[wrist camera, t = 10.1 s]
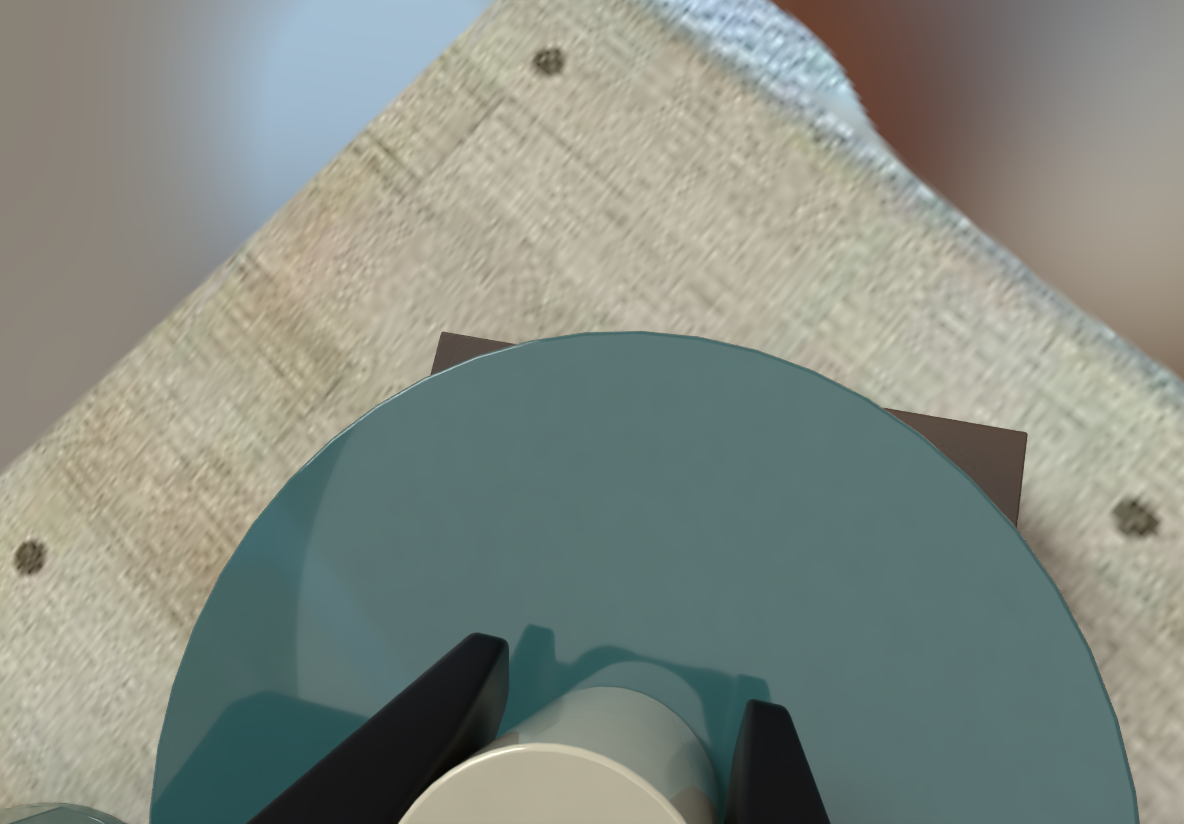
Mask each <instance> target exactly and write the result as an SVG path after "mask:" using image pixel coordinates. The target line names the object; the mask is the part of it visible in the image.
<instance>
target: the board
mask: <svg viewBox="0 0 1184 824" xmlns="http://www.w3.org/2000/svg"><path fill="white" fill-rule="evenodd" d="M513 345H517V344H511V343H505V342H500V341H494V340H488V339H482V338H476V337H471V336H465V335H459V334H453V333H448V332H442V333H441V336H440V340H439V344H438V348H437V352H436V355H435V359H434V363H433V367H432V371H431V375H432V374H435V373H437V372H439V371H442V370H444V369H447V368H449V367H451V366H454V365H456V364H458V363H461V362H463V361H466V360H468V359H470V358H473V357H475V356H478V355H481V354H485V353H489V352H492V351H496V350H499V349H503V348H506V347H510V346H513ZM883 409H884V410H886V411H887V412H889V413H890V414H892V415H893V416H895V417H896V418H898V419H899V420H901V421H902V422H904V423H905V424H907V425H908V426H910V427H911V428H913V429H914V430H916V431H917V432H918V433H920V434H921V435H923V436H924V437H925V438H926V439H927V440H928V441H929V442H931V443H932V444H933V445H934V446H935V447H936V448H937V449H939V450H940V451H941V452H942V453H943V454H944V455H945V456H947V457H948V458H949V459H950V460H951V461H952V462H954V463H955V464H956V465H957V466H958V467H959V468H960V469H962V470H963V471H964V472H965V473H966V474H967V475H968V476H970V477H971V478H972V479H973V481H974V482H975V483H976V484H977V485H978V486H979V487H980V488H981V489H982V491H983V492H984V493H985V494H986V495H987V496H988V497H989V498H990V499H991V501H992V502H993V503H994V504H995V505H996V506H997V507H998V508H999V509H1000V511H1001V512H1002V513H1003V514H1004V515H1005V516H1006V517H1007V518H1008V519H1009V521H1010V522H1011V523H1012V524H1013V525H1014V526H1015V527H1016V528H1017V522H1018V513H1019V505H1020V496H1021V487H1022V479H1023V470H1024V461H1025V453H1026V444H1027V433H1026V432H1021V431H1015V430H1010V429H1004V428H998V427H992V426H986V425H981V424H975V423H969V422H963V421H957V420H952V419H946V418H940V417H934V416H929V415H923V414H917V413H911V412H905V411H900V410H894V409H888V408H883Z"/></svg>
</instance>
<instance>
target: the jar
mask: <svg viewBox="0 0 1184 824" xmlns="http://www.w3.org/2000/svg"><path fill="white" fill-rule="evenodd" d="M0 824H125V823H124V822H122V821H120V820H118V819H116V818H115V817H113V816H111V815H108V814H105V813H103V812H100V811H97V810H94V809H91V808H88V807H83V806H78V805H73V804H67V803H36V804H28V805H20V806H17V807H13V808H5V809H0Z"/></svg>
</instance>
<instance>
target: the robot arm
mask: <svg viewBox="0 0 1184 824" xmlns="http://www.w3.org/2000/svg"><path fill="white" fill-rule="evenodd" d="M508 693H509V645H508V642H507V641H506V640H505V639H503V638H500V637H496V636H492V635H487V634H483V633H478V632H475V633H472V634H470V635H468V636H467V637H465V638H464V639H463V640H462V641H461V642H460V643H458V644H457V645H456V646H455V647H454V648H452V649H451V650H450V651H449V652H448V653H447V654H445V655H444V656H443V657H442V658H441V659H439V660H438V661H437V662H436V663H435V664H434V665H432V666H431V667H430V668H429V669H428V670H426V671H425V672H424V673H423V674H422V675H421V676H419V677H418V678H417V679H416V680H415V681H413V682H412V683H411V684H410V685H409V686H408V687H406V688H405V689H404V690H403V691H402V692H400V693H399V694H398V695H397V696H396V697H395V698H393V699H392V700H391V701H390V702H389V703H387V704H386V705H385V706H384V707H383V708H382V709H380V710H379V711H378V712H377V713H376V714H374V715H373V716H372V717H371V718H370V719H369V720H367V721H366V722H365V723H364V724H363V725H361V726H360V727H359V728H358V729H357V730H356V731H354V732H353V733H352V734H351V735H350V736H348V737H347V738H346V739H345V740H344V741H343V742H341V743H340V744H339V745H338V746H337V747H335V748H334V749H333V750H332V751H331V752H330V753H328V754H327V755H326V756H325V757H324V758H322V759H321V760H320V761H319V762H318V763H317V764H315V765H314V766H313V767H312V768H311V769H309V770H308V771H307V772H306V773H305V774H304V775H302V776H301V777H300V778H299V779H298V780H296V781H295V782H294V783H293V784H292V785H291V786H289V787H288V788H287V789H286V790H285V791H283V792H282V793H281V794H280V795H279V796H278V797H276V798H275V799H274V800H273V801H272V802H270V803H269V804H268V805H267V806H266V807H265V808H263V809H262V810H261V811H260V812H259V813H257V814H256V815H255V816H254V817H253V818H252V819H250V820H249V821H248V822H247V823H246V824H398V823H399V821H400V820H401V818H402V817H403V816H404V814H405V813H406V812H407V811H408V809H409V808H410V807H411V805H412V804H413V803H414V801H415V800H416V799H417V798H418V797H419V796H420V795H421V794H422V793H423V792H424V791H425V790H426V789H427V788H428V787H429V786H430V785H431V784H432V783H434V782H435V781H436V780H438V779H439V778H440V777H442V776H443V775H444V774H445V773H447V772H448V771H449V770H451V769H452V768H454V767H455V766H457V765H458V764H460V763H461V762H463V761H464V760H465V759H467V758H468V757H470V756H471V755H473V754H474V753H476V752H477V751H479V750H480V749H482V748H483V747H485V746H486V745H488V744H489V743H491V742H492V741H493V740H495V739H496V736H497V733H498V730H499V726H500V723H501V720H502V717H503V714H504V711H505V707H506V703H507V699H508ZM723 824H831V823H830V820H829V818H828V815H827V812H826V810H825V807H824V804H823V801H822V799H821V796H820V793H819V791H818V788H817V785H816V783H815V780H814V777H813V774H812V772H811V769H810V766H809V764H808V761H807V758H806V756H805V753H804V750H803V748H802V745H801V742H800V739H799V737H798V734H797V731H796V729H795V726H794V723H793V721H792V718H791V715H790V713H789V712H788V710H787V709H786V708H785V707H784V706H782V705H779V704H775V703H771V702H766V701H762V700H758V699H750V700H748V701H747V703H746V705H745V709H744V713H743V717H742V721H741V725H740V729H739V733H738V737H737V741H736V745H735V749H734V754H733V760H732V766H731V773H730V780H729V787H728V794H727V801H726V807H725V814H724V821H723Z"/></svg>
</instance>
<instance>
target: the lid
mask: <svg viewBox="0 0 1184 824" xmlns="http://www.w3.org/2000/svg"><path fill="white" fill-rule="evenodd" d="M475 632H478V633H483V634H487V635H492V636H496V637H500V638H503V639H505V640H506V641H507V642H508V645H509V693H508V699H507V703H506V707H505V711H504V714H503V717H502V720H501V723H500V726H499V730H498V733H497V736H496V739H495V740H493V741H492V742H491V743H489V744H488V745H486V746H485V747H483V748H482V749H480V750H479V751H477V752H476V753H474V754H473V755H471V756H470V757H468V758H467V759H465V760H464V761H463V762H461V763H460V764H458V765H457V766H455V767H454V768H452V769H451V770H449V771H448V772H447V773H445V774H444V775H443V776H442V777H440V778H439V779H438V780H436V781H435V782H434V783H432V784H431V785H430V786H429V787H428V788H427V789H426V790H425V791H424V792H423V793H422V794H421V795H420V796H419V797H418V798H417V799H416V800H415V801H414V803H413V804H412V805H411V807H410V808H409V809H408V811H407V812H406V813H405V814H404V816H403V817H402V818H401V820H400V821H399V823H398V824H723V821H724V814H725V807H726V801H727V794H728V787H729V780H730V773H731V766H732V760H733V754H734V749H735V745H736V741H737V737H738V733H739V729H740V725H741V721H742V717H743V713H744V709H745V705H746V703H747V701H748V700H750V699H758V700H762V701H766V702H771V703H775V704H779V705H782V706H784V707H785V708H786V709H787V710H788V712H789V713H790V715H791V718H792V721H793V723H794V726H795V729H796V731H797V734H798V737H799V739H800V742H801V745H802V748H803V750H804V753H805V756H806V758H807V761H808V764H809V766H810V769H811V772H812V774H813V777H814V780H815V783H816V785H817V788H818V791H819V793H820V796H821V799H822V801H823V804H824V807H825V810H826V812H827V815H828V818H829V820H830V823H831V824H1140V823H1139V814H1138V806H1137V798H1136V791H1135V787H1134V783H1133V779H1132V775H1131V771H1130V767H1129V763H1128V759H1127V755H1126V751H1125V747H1124V743H1123V739H1122V735H1121V731H1120V727H1119V723H1118V719H1117V716H1116V714H1115V711H1114V708H1113V706H1112V703H1111V701H1110V698H1109V695H1108V693H1107V690H1106V688H1105V685H1104V683H1103V680H1102V677H1101V675H1100V672H1099V670H1098V667H1097V664H1096V662H1095V659H1094V657H1093V654H1092V651H1091V649H1090V647H1089V645H1088V643H1087V641H1086V640H1085V638H1084V636H1083V634H1082V632H1081V630H1080V628H1079V626H1078V625H1077V623H1076V621H1075V619H1074V617H1073V615H1072V613H1071V611H1070V610H1069V608H1068V606H1067V604H1066V602H1065V600H1064V598H1063V597H1062V595H1061V593H1060V591H1059V589H1058V587H1057V585H1056V584H1055V582H1054V581H1053V580H1052V578H1051V577H1050V575H1049V574H1048V573H1047V571H1046V570H1045V568H1044V567H1043V565H1042V564H1041V563H1040V561H1039V560H1038V558H1037V557H1036V555H1035V554H1034V553H1033V551H1032V550H1031V548H1030V547H1029V545H1028V544H1027V543H1026V541H1025V540H1024V538H1023V537H1022V535H1021V534H1020V533H1019V531H1018V530H1017V528H1016V527H1015V526H1014V525H1013V524H1012V523H1011V522H1010V521H1009V519H1008V518H1007V517H1006V516H1005V515H1004V514H1003V513H1002V512H1001V511H1000V509H999V508H998V507H997V506H996V505H995V504H994V503H993V502H992V501H991V499H990V498H989V497H988V496H987V495H986V494H985V493H984V492H983V491H982V489H981V488H980V487H979V486H978V485H977V484H976V483H975V482H974V481H973V479H972V478H971V477H970V476H968V475H967V474H966V473H965V472H964V471H963V470H962V469H960V468H959V467H958V466H957V465H956V464H955V463H954V462H952V461H951V460H950V459H949V458H948V457H947V456H945V455H944V454H943V453H942V452H941V451H940V450H939V449H937V448H936V447H935V446H934V445H933V444H932V443H931V442H929V441H928V440H927V439H926V438H925V437H924V436H923V435H921V434H920V433H918V432H917V431H916V430H914V429H913V428H911V427H910V426H908V425H907V424H905V423H904V422H902V421H901V420H899V419H898V418H896V417H895V416H893V415H892V414H890V413H889V412H887V411H886V410H884V409H883V408H882V407H880V406H879V405H877V404H876V403H874V402H873V401H871V400H870V399H868V398H866V397H864V396H862V395H860V394H858V393H856V392H855V391H853V390H851V389H849V388H847V387H845V386H843V385H841V384H839V383H837V382H835V381H833V380H831V379H829V378H827V377H825V376H823V375H821V374H819V373H817V372H815V371H813V370H811V369H808V368H805V367H803V366H800V365H797V364H794V363H792V362H789V361H786V360H783V359H781V358H778V357H775V356H772V355H770V354H767V353H764V352H761V351H759V350H755V349H751V348H747V347H742V346H738V345H733V344H729V343H725V342H720V341H716V340H712V339H707V338H703V337H698V336H688V335H678V334H668V333H657V332H647V331H620V332H584V333H578V334H571V335H565V336H558V337H552V338H545V339H538V340H532V341H527V342H524V343H520V344H517V345H513V346H510V347H506V348H503V349H499V350H496V351H492V352H489V353H485V354H481V355H478V356H475V357H473V358H470V359H468V360H466V361H463V362H461V363H458V364H456V365H454V366H451V367H449V368H447V369H444V370H442V371H439V372H437V373H435V374H432V375H430V376H428V377H425V378H423V379H422V380H420V381H418V382H416V383H415V384H413V385H411V386H410V387H408V388H406V389H404V390H403V391H401V392H399V393H397V394H396V395H394V396H392V397H390V398H389V399H387V400H385V401H384V402H382V403H380V404H378V405H377V406H375V407H374V408H372V409H371V410H370V411H368V412H367V413H366V414H364V415H363V416H362V417H360V418H359V419H358V420H356V421H355V422H354V423H352V424H351V425H350V426H348V427H347V428H346V429H344V430H343V431H342V432H340V433H339V434H338V435H336V436H335V437H334V438H332V439H331V440H330V441H329V442H328V443H327V444H326V445H325V446H324V447H323V448H322V449H321V450H320V451H318V452H317V453H316V454H315V455H314V456H313V457H312V458H311V459H310V460H309V461H308V462H307V463H306V464H305V465H304V466H303V467H302V468H301V469H300V470H299V471H298V472H297V473H295V474H294V475H293V476H292V477H291V478H290V479H289V480H288V482H287V483H286V484H285V485H284V486H283V488H282V489H281V490H280V491H279V493H278V494H277V495H276V496H275V497H274V499H273V500H272V501H271V502H270V503H269V505H268V506H267V507H266V508H265V509H264V511H263V512H262V513H261V514H260V516H259V517H258V518H257V519H256V520H255V522H254V523H253V524H252V526H251V527H250V529H249V530H248V532H247V533H246V535H245V536H244V538H243V540H242V541H241V543H240V544H239V546H238V547H237V549H236V550H235V552H234V553H233V555H232V556H231V558H230V560H229V561H228V563H227V564H226V566H225V567H224V569H223V570H222V572H221V573H220V575H219V578H218V580H217V582H216V584H215V586H214V588H213V590H212V592H211V594H210V596H209V598H208V600H207V602H206V604H205V606H204V608H203V610H202V612H201V614H200V616H199V618H198V620H197V622H196V624H195V626H194V628H193V631H192V634H191V636H190V639H189V642H188V645H187V647H186V650H185V653H184V656H183V658H182V661H181V664H180V667H179V669H178V672H177V675H176V678H175V680H174V683H173V686H172V690H171V694H170V698H169V703H168V707H167V711H166V715H165V719H164V723H163V727H162V732H161V736H160V740H159V744H158V749H157V757H156V765H155V773H154V781H153V789H152V797H151V805H150V821H149V824H246V823H247V822H248V821H249V820H250V819H252V818H253V817H254V816H255V815H256V814H257V813H259V812H260V811H261V810H262V809H263V808H265V807H266V806H267V805H268V804H269V803H270V802H272V801H273V800H274V799H275V798H276V797H278V796H279V795H280V794H281V793H282V792H283V791H285V790H286V789H287V788H288V787H289V786H291V785H292V784H293V783H294V782H295V781H296V780H298V779H299V778H300V777H301V776H302V775H304V774H305V773H306V772H307V771H308V770H309V769H311V768H312V767H313V766H314V765H315V764H317V763H318V762H319V761H320V760H321V759H322V758H324V757H325V756H326V755H327V754H328V753H330V752H331V751H332V750H333V749H334V748H335V747H337V746H338V745H339V744H340V743H341V742H343V741H344V740H345V739H346V738H347V737H348V736H350V735H351V734H352V733H353V732H354V731H356V730H357V729H358V728H359V727H360V726H361V725H363V724H364V723H365V722H366V721H367V720H369V719H370V718H371V717H372V716H373V715H374V714H376V713H377V712H378V711H379V710H380V709H382V708H383V707H384V706H385V705H386V704H387V703H389V702H390V701H391V700H392V699H393V698H395V697H396V696H397V695H398V694H399V693H400V692H402V691H403V690H404V689H405V688H406V687H408V686H409V685H410V684H411V683H412V682H413V681H415V680H416V679H417V678H418V677H419V676H421V675H422V674H423V673H424V672H425V671H426V670H428V669H429V668H430V667H431V666H432V665H434V664H435V663H436V662H437V661H438V660H439V659H441V658H442V657H443V656H444V655H445V654H447V653H448V652H449V651H450V650H451V649H452V648H454V647H455V646H456V645H457V644H458V643H460V642H461V641H462V640H463V639H464V638H465V637H467V636H468V635H470V634H472V633H475Z"/></svg>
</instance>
